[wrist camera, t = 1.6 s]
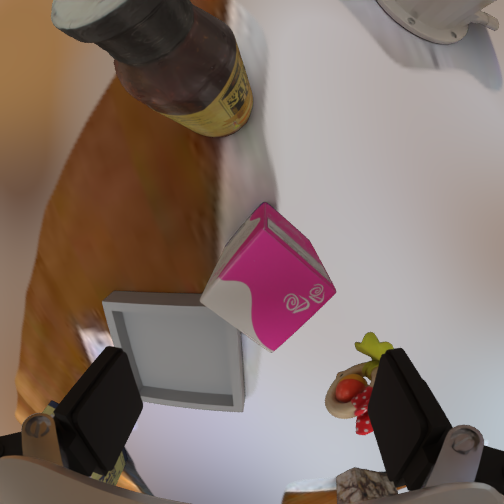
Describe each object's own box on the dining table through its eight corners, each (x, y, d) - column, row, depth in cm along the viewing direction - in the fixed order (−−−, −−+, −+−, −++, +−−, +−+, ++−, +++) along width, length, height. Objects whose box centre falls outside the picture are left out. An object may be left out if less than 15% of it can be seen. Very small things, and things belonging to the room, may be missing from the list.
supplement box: (271, 285, 28) (269, 358, 17) (223, 246, 27) (191, 299, 16) (313, 241, 26) (339, 293, 15) (264, 198, 26) (258, 222, 15)
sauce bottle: (260, 131, 24) (221, 27, 5) (192, 145, 25) (21, 117, 6) (246, 66, 22) (193, -98, 3) (180, 81, 23) (36, -23, 4)
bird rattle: (353, 375, 33) (415, 350, 27) (336, 453, 24) (412, 439, 19) (323, 349, 32) (388, 319, 27) (299, 433, 23) (381, 416, 18)
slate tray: (238, 294, 28) (235, 307, 26) (245, 396, 32) (243, 412, 30) (114, 290, 29) (101, 301, 27) (140, 386, 33) (132, 399, 31)
